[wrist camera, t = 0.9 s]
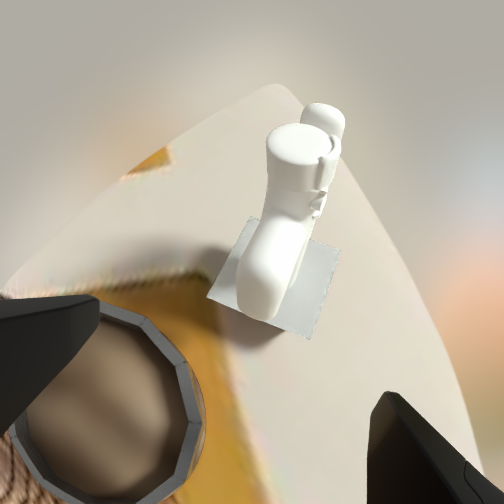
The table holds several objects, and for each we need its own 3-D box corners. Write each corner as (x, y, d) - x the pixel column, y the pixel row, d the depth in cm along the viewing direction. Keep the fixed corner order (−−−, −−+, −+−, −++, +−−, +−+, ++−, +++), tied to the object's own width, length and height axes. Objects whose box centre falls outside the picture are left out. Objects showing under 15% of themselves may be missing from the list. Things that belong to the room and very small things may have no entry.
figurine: (204, 327, 23) (159, 190, 10) (254, 232, 27) (265, 73, 14) (294, 365, 21) (374, 270, 9) (332, 262, 26) (398, 115, 13)
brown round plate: (176, 538, 14) (174, 541, 13) (7, 447, 15) (2, 447, 15) (231, 347, 22) (231, 345, 21) (60, 290, 23) (56, 286, 23)
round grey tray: (172, 538, 13) (166, 548, 12) (4, 446, 15) (-11, 445, 13) (227, 347, 21) (226, 340, 19) (56, 289, 23) (45, 279, 21)
